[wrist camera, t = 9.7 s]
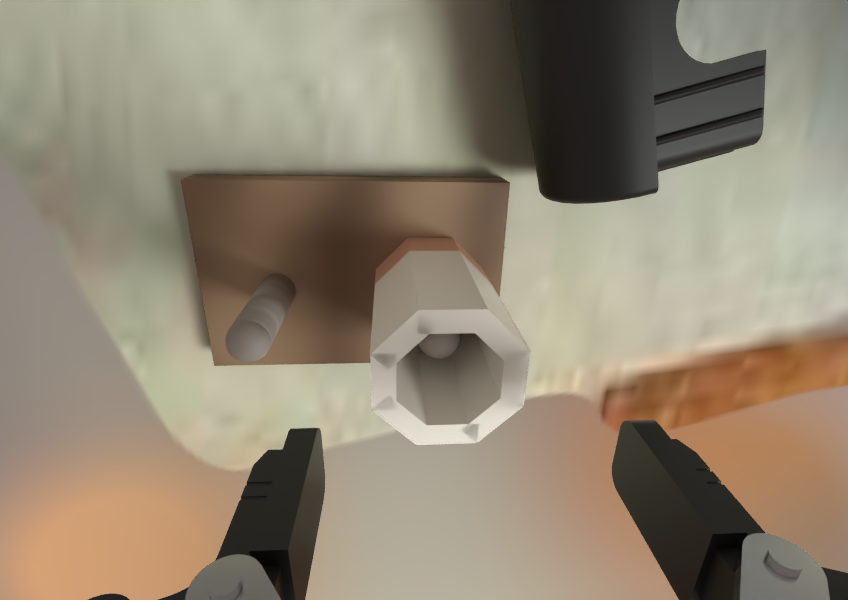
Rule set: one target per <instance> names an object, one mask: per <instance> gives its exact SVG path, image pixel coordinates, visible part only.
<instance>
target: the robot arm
mask: <svg viewBox="0 0 848 600" xmlns="http://www.w3.org/2000/svg"><path fill="white" fill-rule="evenodd" d="M612 476H613V482H614V485H615V488H616V490H617V492H618V494H619V495H620V497H621V499H622V501H623V502H624V504H625V506H626V508H627V509H628V511H629V513H630V515H631V516H632V518H633V520H634V522H635V523H636V525H637V527H638V529H639V530H640V532H641V534H642V536H643V537H644V539H645V541H646V542H647V544H648V546H649V548H650V549H651V551H652V553H653V555H654V557H655V558H656V560H657V562H658V564H659V565H660V567H661V569H662V571H663V572H664V574H665V576H666V578H667V579H668V581H669V583H670V585H671V586H672V588H673V590H674V592H675V593H676V595H677V597H678V599H679V600H848V573H845V572H840V571H836V570H832V569H827V568H823V567H821V566H820V565H819V564H818V563H817V562H816V561H815V560H814V558H812V557H811V556H810V555H809V554H808V553H807V552H805V551H804V550H803V549H801V548H800V547H798V546H797V545H795V544H793V543H792V542H790V541H788V540H785V539H783V538H781V537H778V536H775V535H771V534H766V533H765V532H764V531H763V530H762V529H761V527H760V526H759V525H758V524H757V523H756V521H755V520H754V519H753V518H752V517H751V516H750V514H748V512H747V511H746V510H745V509H744V508H743V506H742V505H741V504H740V503H739V502H738V501H737V499H735V497H734V496H733V495H732V494H731V493H730V491H729V490H728V489H727V488H726V487H725V485H722V484H721V481H720V480H719V479H718V477H717V476H716V475H715V474H714V473H713V472H710V468H709V467H708V466H707V465H706V463H705V462H704V461H703V460H702V459H701V458H700V456H699V455H698V454H697V453H696V452H695V451H693V450H692V449H690V448H689V447H687V446H686V445H684V444H683V443H682V442H680V441H679V440H677V439H670V437H669V436H668V435H667V434H666V432H665V431H664V430H663V429H662V428H661V426H660V425H659V424H658V423H657V422H656V421H654V420H636V421H624V422H623V423H622V425H621V427H620V432H619V436H618V441H617V446H616V451H615V455H614V459H613V464H612ZM324 492H325V470H324V460H323V449H322V439H321V431H320V428H301V429H290V430H289V432H288V435H287V438H286V441H285V444H284V447H283V450H268V451H267V452H266V453H265V454H264V455H263V456H262V457H261V458H260V459H259V460H258V461H257V462H256V463H255V464H254V466H253V468H252V471H251V473H250V476H249V478H248V481H247V486H245V488H244V491H243V493H242V496H241V500H240V501H239V503H238V506H237V509H236V511H235V514H234V516H233V519H232V521H231V524H230V526H229V529H228V531H227V534H226V536H225V539H224V541H223V544H222V546H221V549H220V551H219V554H218V556H217V558H216V560H215V561H214V562H212V563H211V564H209V565H208V566H206V567H205V568H204V569H203V570H201V571H200V572H199V574H198V575H197V576H196V577H195V578H194V579H193V581H192V582H191V584H190V586H189V587H188V588H186V589H184V590H182V591H180V592H178V593H176V594H173V595H171V596H168V597H165V598H162V599H159V600H305V597H306V591H307V586H308V581H309V576H310V569H311V564H312V559H313V554H314V548H315V542H316V537H317V532H318V526H319V521H320V516H321V511H322V505H323V500H324ZM89 600H129V599H128V598H127V597H125V596H123V595H120V594H105V595H100V596H97V597H93V598H91V599H89Z"/></svg>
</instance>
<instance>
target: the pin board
mask: <svg viewBox="0 0 848 600" xmlns="http://www.w3.org/2000/svg"><path fill="white" fill-rule="evenodd" d="M181 183H182V188H183V194H184V200H185V205H186V211H187V216H188V222H189V227H190V233H191V238H192V244H193V250H194V255H195V261H196V266H197V272H198V277H199V283H200V289H201V294H202V300H203V305H204V311H205V316H206V322H207V327H208V333H209V339H210V344H211V350H212V355H213V361H214V366H222V365H275V364H328V363H370V345H371V331H372V317H373V303H374V289H375V274H376V268H377V267H378V266H379V265H380V264H381V263H382V262H383V261H384V260H386V259H387V258H388V257H389V256H390V255H391V254H392V253H393V252H394V251H395V250H396V249H397V248H398V247H399V246H400V245H401V244H402V243H403V242H404V241H405V240H406V239H407V238H454V240H455V241H456V242H457V243H458V244H459V245H460V246H461V247H462V248H463V249H464V250H465V251H466V252H467V253H468V254H469V255H470V256H471V257H472V258H473V259H474V260H475V261H476V262H477V263H478V264H479V265H480V266H481V267H482V268H483V270H484V272H485V273H486V275H487V277H488V279H489V280H490V282H491V284H492V285H493V287H494V289H495V291H496V292H497V294H498V296H500V285H501V274H502V263H503V252H504V241H505V230H506V219H507V208H508V198H509V187H510V183H509V182H508V181H506V180H505V179H503V178H467V177H378V176H288V175H199V174H195V175H192V176H189V177H186V178H184V179H181ZM459 341H460V334H429V335H427V336H426V337H425V338H424V339H423V340H422V341H421V342H420V343H418V344H419V346H420V348H421V350H422V351H423V352H424V353H425V354H426V355H427V356H429V357H432V358H436V359H442V358H446V357H448V356H450V355H451V354H453V353H454V352H455V350H456V349H457V347H458V345H459Z"/></svg>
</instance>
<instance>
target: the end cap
mask: <svg viewBox="0 0 848 600" xmlns="http://www.w3.org/2000/svg"><path fill="white" fill-rule="evenodd" d="M679 1H680V0H510V2H511V8H512V15H513V21H514V28H515V34H516V41H517V47H518V54H519V60H520V67H521V73H522V80H523V86H524V93H525V99H526V106H527V112H528V119H529V125H530V132H531V138H532V145H533V151H534V158H535V164H536V171H537V177H538V184H539V190H540V193H541V194H542V195H543V196H544V197H545V198H547V199H549V200H552V201H556V202H561V203H573V204H583V203H601V202H610V201H618V200H624V199H630V198H635V197H640V196H644V195H648V194H653V193H656V192H657V191H658V172H659V171H663V170H666V169H670V168H674V167H677V166H681V165H685V164H688V163H692V162H696V161H699V160H703V159H707V158H710V157H714V156H718V155H721V154H725V153H729V152H732V151H733V150H736V149H739V148H743V147H747V146H750V145H753V144H755V143H757V142H758V140H759V139H760V137H761V135H762V131H763V115H764V90H765V65H766V50H762V51H755V52H752V53H748V54H745V55H741V56H737V57H734V58H730V59H727V60H723V61H719V62H716V63H712V64H708V63H702V62H699V61H696V60H694V59H693V58H691V57H690V56H689V55H688V54H687V53H686V52H685V51H684V50H683V48H682V46H681V44H680V43H679V39H678V36H677V31H676V13H677V8H678V3H679Z"/></svg>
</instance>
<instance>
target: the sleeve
mask: <svg viewBox="0 0 848 600" xmlns="http://www.w3.org/2000/svg"><path fill="white" fill-rule="evenodd" d="M429 334H460V341H459V345H458V347H457V349H456V350H455V352H454V353H453V354H451V355H450V356H448V357H446V358H442V359H436V358H432V357H429V356H427V355H426V354H425V353H424V352H423V351H422V350H421V348H420V346H419V344H418V343H420V342H421V341H422V340H423V339H424V338H425V337H426V336H427V335H429ZM530 352H531V351H530V349H529V348H528V346H527V344H526V342H525V341H524V339H523V337H522V336H521V334H520V332H519V330H518V329H517V327H516V325H515V323H514V322H513V320H512V318H511V317H510V315H509V313H508V311H507V310H506V308H505V306H504V304H503V303H502V301H501V299H500V298H499V296H498V294H497V292H496V291H495V289H494V287H493V285H492V284H491V282H490V280H489V279H488V277H487V275H486V273H485V272H484V270H483V268H482V267H481V266H480V265H479V264H478V263H477V262H476V261H475V260H474V259H473V258H472V257H471V256H470V255H469V254H468V253H467V252H466V251H465V250H464V249H463V248H462V247H461V246H460V245H459V244H458V243H457V242H456V241H455V240H454V238H407V239H406V240H405V241H404V242H403V243H402V244H401V245H400V246H399V247H398V248H397V249H396V250H395V251H394V252H393V253H392V254H391V255H390V256H389V257H388V258H387V259H386V260H384V261H383V262H382V263H381V264H380V265H379V266H378V267H377V268H376V274H375V289H374V303H373V317H372V331H371V345H370V366H371V402H372V408H371V410H372V411H373V412H375V413H376V414H377V415H378V416H380V417H381V418H382V419H384V420H385V421H386V422H387V423H389V424H390V425H391V426H393V427H394V428H395V429H396V430H398V431H399V432H400V433H402V434H403V435H404V436H405V437H407V438H408V439H409V440H411V441H412V442H413V443H414V444H416V445H430V444H458V443H459V444H461V443H477V442H479V441H480V440H481V439H483V438H484V437H485V436H486V435H488V434H489V433H490V432H491V431H493V430H494V429H495V428H496V427H498V426H499V425H500V424H501V423H503V422H504V421H505V420H507V419H508V418H509V417H510V416H512V415H513V414H514V413H515V412H517V411H518V410H519V409H520V408H522V407H523V405H524V398H525V390H526V382H527V374H528V366H529V358H530Z"/></svg>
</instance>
